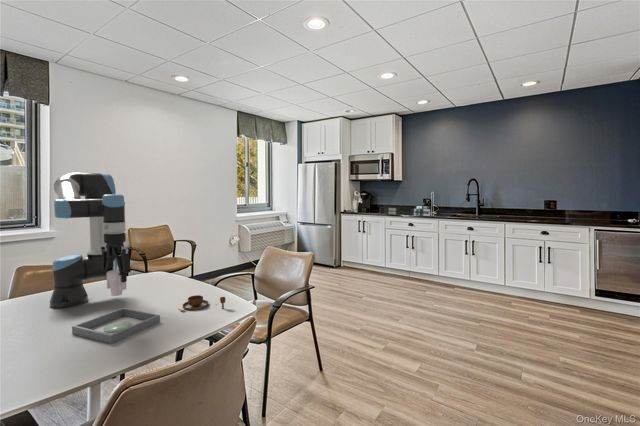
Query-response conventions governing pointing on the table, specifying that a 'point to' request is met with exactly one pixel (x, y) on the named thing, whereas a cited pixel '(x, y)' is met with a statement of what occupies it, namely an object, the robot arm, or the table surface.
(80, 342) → the table surface
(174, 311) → the table surface
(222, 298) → the place setting
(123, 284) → the robot arm
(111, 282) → the smoothie
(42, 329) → the table surface
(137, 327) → the grey square frame
